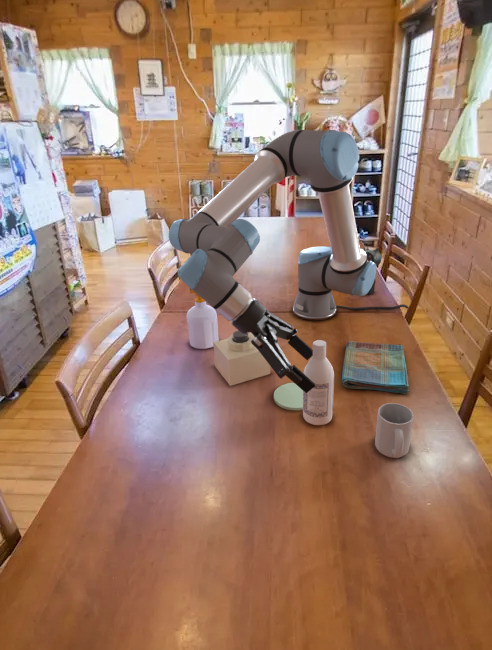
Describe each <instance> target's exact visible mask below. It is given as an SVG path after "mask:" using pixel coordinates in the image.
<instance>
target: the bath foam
mask: <svg viewBox="0 0 492 650" xmlns="http://www.w3.org/2000/svg"><path fill="white" fill-rule="evenodd" d="M312 350H313V356H312V357H311V358H309V359H308V362H306V365H305V367H304V370H303V373H304V374H305V375H306V376H307V377H308V378H309V379H310V380H311V381H313V382H314V383H315V387H314V388H312V389H311V390H310V391H309V392H307V393H305V392H304V391H303V410H302V417H303V419H304V421H305V422H306V423H308V424H311V425H312V426H324V425H327V424H328V423H330V422H331V421H332V420H333V411H334V392H335V391H334V390H335V389H334V388H335V372H334V368H333V365H332V364H331V362H330V360H329V359H328V358H327V342H326V341H325V340H323V339H317V340H314V341H313V342H312Z"/></svg>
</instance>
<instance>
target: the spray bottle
mask: <svg viewBox="0 0 492 650" xmlns="http://www.w3.org/2000/svg"><path fill="white" fill-rule="evenodd" d="M189 293H190V294H194V295H195V296H196V297H195V298H194V305H193V306H192V307H191V308H190V309H188V310H187V313H186V322H187V323H186V324H187V330H188V331H187V332H188V339H189V341H188V342H189V345H190V346H191V347H192V348H194V349H197V350H206V349H211V348H214V346H213V342H216V341H220V339H219V338H220V337H219V323H218V313H217V311H216V310H215V309H214V308H213V307H212V306H211V305H210V304H208V303H207V302H206V301H205V300H204V299H202V298H201V297H200V296H199V295H198V294H196V293H195V292H194V291H193V290H191V289H190V288H189Z"/></svg>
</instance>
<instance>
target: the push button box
mask: <svg viewBox="0 0 492 650" xmlns="http://www.w3.org/2000/svg"><path fill="white" fill-rule="evenodd" d="M254 338H255V337H254V335H253V334H252V333H251V332H248V341H247V342H244V343H236V342H234V341H233V334H231V335H230V336H228V338H224V339H219V341H216V342H213V357H214V368H216V370H217V371H218V372H219V374H220V375H221V376H222V377H223V379H224V380H225V381H226V382H227V383H228V385H229V386H230V387H232V386H235V385H238V384H241V383H246V382H248V381H252V380H254V379H258V378H260V377H261V378H262V377H265V376H268V375H270V374H271V366H270V365H269V363H268V362H267V361H266V360H265V358H264V357H263V356H262V354H261V353H260V352H259V350H258V349H257V348H256V347H255V346H254V345H253V344H252V343H251V341H252V340H253V339H254Z"/></svg>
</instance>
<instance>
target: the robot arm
mask: <svg viewBox="0 0 492 650" xmlns="http://www.w3.org/2000/svg"><path fill="white" fill-rule="evenodd" d="M359 161H360V152H359V147H358V144H357V142H356V140H355V138H354V137H353V136H352V135H351V134H350V133H348V132H346V131H341V130H336V129H328V130H316V129H315V130H313V129H312V130H311V129H295V130H291V131H288V132H285V133H283V134H281V135H280V136H278V137H276V138H274V139H273V140H271V141H270V142H269V143H267V144H266V145H265V146H263V147H262V148H261V149H260V150H259V151H257V152H256V154H255V156H254V160H253V161H252V163H250V164H249V165H248V166H247V167H246V168H245V169H244V170H242V171H241V172H240V173H239V174H238V175H236V177H235V178H234V179H233V180H232V181H230V183H228V184H227V185H226V186H225V187H224V188H223V189H221V191H219V192H218V194H216V195H215V196H214V197H213V198H212V199H211V200H209V202H207V203H206V204H205V205H204V206H202V208H201V209H199V211H197V213H195V214H194V215H193V216H192V217H191V218H189V219H187V218H180V219H176V220H174V221H173V223H172V224H171V225H170V228H169V229H168V240H169V243H170V245H171V247H172V248H174V249H175V250H177V251H180V252H182V253H185V254H187V255H188V254H190V256H189V257H188V258H187V259H186V260H185V261H184V263H182V265H181V266H180V267H179V269H178V270H177V276H178V278H179V279H180V280H181V281H182V282H183V283H184V284H185V285H186V286H187V287H188V288H189V290H190V289H191V290H193V291H194V292H195V293H196V294H198V295H199V296H200V297H201V298H202V299H204V300H205V301H206V304H207V305H209V306H211V307H212V308H214V309H215V311H216V313H217V315H219V316H220V315H221V316H222V318H224V319H225V320H226V321H228V322H231V325H232V327H234V328H235V329H236V330H237V331H238V330H239V331H240V332H241V333H243V334H245V333H247V332H248V333H252V334H253V335H254V337H255V338H254V339H253V340H252V341H251V343H252V344H253V345H254V346H255V347H256V348H257V349H258V350H259V352H260V353H261V354H262V356H263V357H264V358H265V360H266V361H267V362H268V363H269V365H270V368H271V369H272V371H274V373H275V374H276V376H277V377H278V378H279V379H283V378H284V377H287V378H288V379H289V380H290V381H291V382H292V383H295V384H296V385H297V386H298V387H299V388H301V389H302V390H303V391H304V392H305V393H307V392H309V391H310V390H311V389H312V388H314V387H315V383H314V382H313V381H311V380H310V379H309V378H308V377H307V376H306V375H305V374H304V372H303V371H302V370H300V369H299V368H298V367H297V366H296V365H295V364H293V365H292V364H291V362H290V360H289V359H288V358H287V356H286V354H285V353H284V351H283V350H282V348H281V346H280V345H279V344H278V342H279V340H278V338H279V339H283V340H285V341H287V344H288V345H289V346H291V348H292V349H294V351H296V352H297V353H298V354H299V355H300V356H301V357H302V358H304V359H305V360H306V361H309V360H310V359H311V358H312V357H313V348H312V347H310V346H309V345H308V344H307V343H306V342H305V341H304V340H303V339H302V338H300V336H299V335H298V334H297V333H298V329H296V328H294V326H293V325H292V324H290V323H289V322H287V321H285V320H284V319H282V318H279V317H278V316H276V315H275V314H273V313H272V312H270V310H268V309H267V308H266V306H265V305H263V304H262V303H261V302H260V301H259V300H258V299H257V298H255V297H253V295H252V294H251V292H249V290H247V288H245V287H244V286H243V285H241V283H239V282H238V281H237V280H236V279H235V278H234V275H236V273H237V272H238V270H240V268H241V267H242V266H243V265H244V263H245V262H247V260H248V259H249V257H250V256H251V255H253V253H254V251H255V249H256V248H257V246H258V245H259V244H260V241H261V236H260V233H259V232H258V229H257V227H255V226H254V225H253V223H252V222H250V221H248V220H247V219H244V218H240V217H241V216H242V215H243V214H244V213H245V212H246V211H247V210H248V209H249V208H250V207H251V206H252V205H253V204H254V203H255V202H256V201H257V200H259V198H260V197H261V196H262V195H263V194H264V193H266V191H267V190H269V188H271V186H273V184H279V183H282V181H283V180H284V179H286V178H288V177H294V176H295V177H296V176H298V177H304V178H305V177H306V178H308V183H309V186H310V189H311V190H312V191H313V192H315V193H317V196H318V199H319V203H320V208H321V213H322V215H323V220H324V224H325V228H326V234H327V237H328V241H329V246H326V245H323V246H320V245H319V246H311V247H307V248H305V249H302V250H301V251H300V252H299V253H298V260H297V266H298V267H297V276H298V277H297V286H298V287H297V294H296V296H295V299H294V302H293V305H292V313H293V315H294V316H295V317H297V318H298V319H302V320H304V321H310V322H311V321H314V322H320V321H325V320H329V319H331V318H333V317H335V316H336V314H337V309H340V310H349V311H362V310H363V311H364V310H396V309H400V308H405V309H407V310H408V309H410V307H409V306H408V305H407V304H398V305H395V306H361V307H360V306H359V307H351V306H345V305H344V306H343V305H337V304H336V302H335V297H334V294H333V291H334V292H338V293H342V294H346V295H349V296H351V297H353V296H354V297H359V298H361V297H365V296H366V295H368V294H367V293H368V292H369V290H370V289H371V287H372V285H373V282H374V280H376V276H377V266H376V264H375V263H374V262H372V261H368V260H367V255H366V252H365V251H366V250H365V251H364V248H362V247H361V246H360V245H361V244H360V242H359V240H360V239H359V234H358V230H357V229H358V228H357V224H356V218H355V212H354V207H353V201H352V196H351V190H350V184H351V183H352V182H353V179H354V178H355V175H356V174H357V172H358V169H359ZM195 293H194V294H195Z"/></svg>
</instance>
